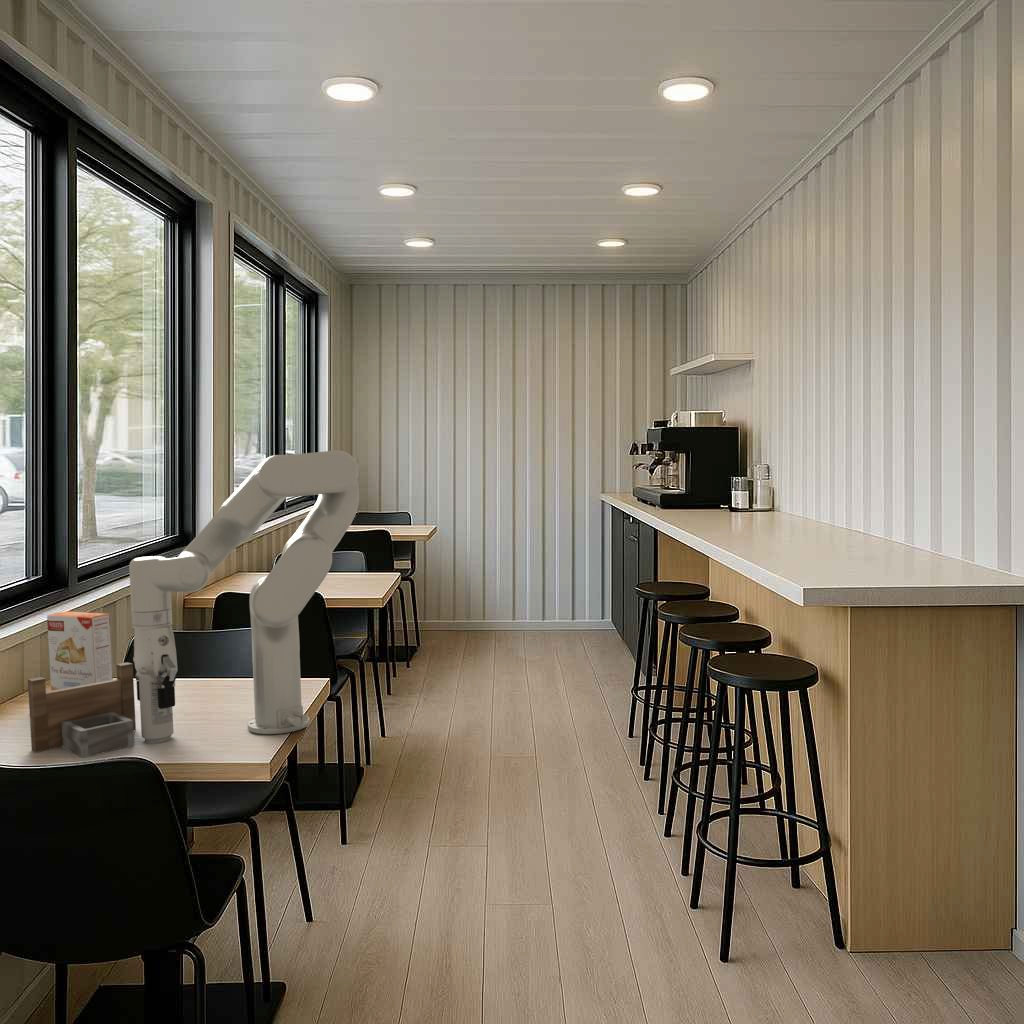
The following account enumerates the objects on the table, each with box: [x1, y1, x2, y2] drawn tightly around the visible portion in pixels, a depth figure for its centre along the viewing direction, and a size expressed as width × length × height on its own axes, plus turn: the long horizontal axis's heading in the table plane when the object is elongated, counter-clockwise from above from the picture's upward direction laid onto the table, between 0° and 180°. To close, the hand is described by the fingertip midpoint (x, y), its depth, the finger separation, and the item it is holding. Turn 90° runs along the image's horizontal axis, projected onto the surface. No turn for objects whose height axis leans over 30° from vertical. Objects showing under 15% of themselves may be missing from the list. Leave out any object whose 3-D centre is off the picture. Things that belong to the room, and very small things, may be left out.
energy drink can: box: [139, 667, 174, 744], centre depth 191 cm, size 6×6×15 cm
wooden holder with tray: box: [27, 661, 137, 758], centre depth 188 cm, size 13×20×14 cm, turn 135°
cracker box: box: [46, 610, 114, 691], centre depth 224 cm, size 14×6×21 cm, turn 68°
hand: (156, 703), depth 191 cm, fingers open, 9 cm apart
